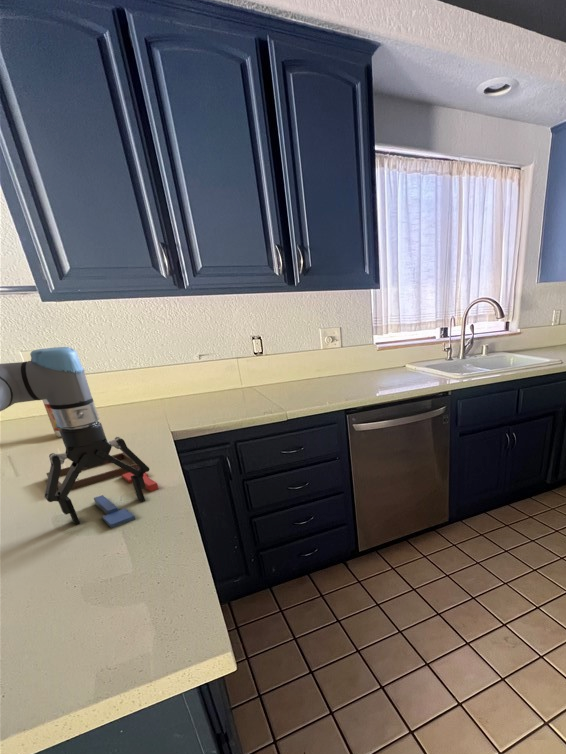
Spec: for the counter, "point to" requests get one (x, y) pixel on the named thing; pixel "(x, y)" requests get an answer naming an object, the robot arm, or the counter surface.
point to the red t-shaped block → (148, 482)
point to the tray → (100, 476)
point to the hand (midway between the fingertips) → (111, 512)
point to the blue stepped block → (113, 512)
